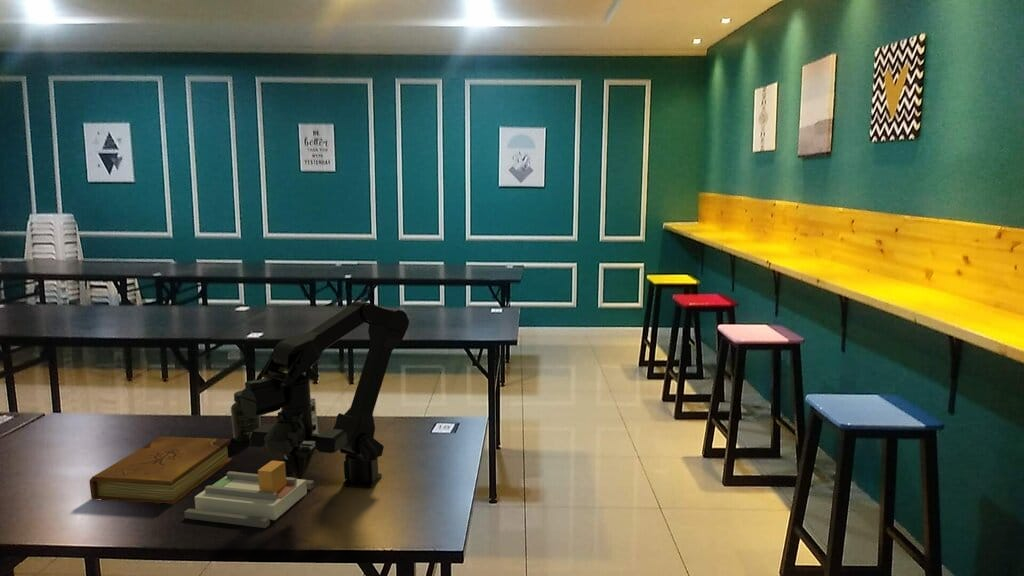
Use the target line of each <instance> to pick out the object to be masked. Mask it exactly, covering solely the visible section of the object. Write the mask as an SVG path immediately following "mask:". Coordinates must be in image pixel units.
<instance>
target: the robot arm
mask: <svg viewBox="0 0 1024 576" xmlns="http://www.w3.org/2000/svg"><path fill="white" fill-rule="evenodd" d="M363 324H367V325H368V330H367V331H368V337H369V342H370V343H369V348H368V350H367V354H366V358H365V361H364V364H363V366H362V370H361V374H360V376H359V380H358V383H357V387H356V389H355V393H354V395H353V398H352V399H353V400H352V402H351V406H350V407H349V408H348V410H347V411H346V412H344V413H341V412H340V413H338V414H337V416H336V420H335V424H334V426H333V428H327V429H326V430H324V431H323V432H322V433H319V432H318V433H313V431H314V430H316V424H312V411H314V410H315V405H311V399H312V396H311V384H310V383H311V382H310V381H311V380H316V379H318V378H319V377H320V374H319V373H317V372H315V371H314V370H313V369H312V367H314V365H315V364H316V363H317V362H318V361H319V360H320V358H321V356H322V353H323V352H324V351H325V350H326V349H328V348H329V347H330V346H332V345H333V344H335V343H336V342H338V341H339V340H341V339H342V338H344V337H345V336H346V335H349V333H351V332H352V331H354V330H356V329H357V328H358V327H360V326H361V325H363ZM409 326H410V320H409V318H408V315H407V313H406V312H405V311H403V310H401V309H397V308H390V307H383V306H377V305H374V304H372V303H371V302H367V301H361V300H355V301H352V302H350V304H348V306H347V307H345V308H343V309H342V310H341V311H339V312H337V313H336V314H334V315H332V316H331V317H329V318H328V319H326V320H325V321H323V322H322V323H320V324H319V325H317V326H316V327H314V328H313V329H311V330H309V331H307V332H305V333H302V334H297V335H293V336H290V337H288V338H286V339H283V340H281V341H279V342H278V343H276V345H275V346H274V347H273V352H272V355H271V357H270V359H269V361H268V363H267V365H266V366H265V368H264V371H263V372H262V374H261V377H263V378H260V379H257V380H249V381H245V383H244V389H242V390H243V391H242V390H241V391H242V393H241V397H240V405H241V408H242V410H243V412H244V414H245V415H246V416H247V417H248V418H255V417H258V416H260V417H261V416H263V415H268V414H271V413H274V412H277V411H279V412H277V414H276V415H277V416H276V424H274V423H273V424H272V423H264V424H261V426H260V427H259V428H257V429H256V430H254V431H252V433H251V435H250V441H249V446H251V447H259V448H263V447H264V446H266V450H267V451H268V453H269V454H274V453H277V454H282V455H283V456H284V455H286V456H287V458H288V459H287V460H288V461H289V464H290V465H291V467H292V469H293V471H294V474H295V476H296V477H297V478H296V479H303V480H304V479H305V476H306V474H307V470H308V468H309V464H310V462H311V459H312V457H313V455H314V453H315V451H316V450H317V452H319V453H324V454H325V453H326V454H333V453H336V452H338V451H339V452H340V453H341V454H345V456H344V458H345V460H344V461H343V474H344V475H343V476H344V477H343V478H344V479H345V480H344V481H343V483H342V485H343V486H345V487H356V488H365V489H370V488H371V487H372V486H374V485H375V484H376V483H377V482H378V481H379V479H381V478H382V473H379V458H380V457H382V456H383V453H384V452H383V451H384V448H385V446H384V445H383V444H382V443H380V441H378V440H376V439H375V438H374V437H375V431H376V424H375V419H374V411H375V408H376V404H377V402H378V399H379V395H380V391H381V388H382V385H383V381H384V378H385V375H386V372H387V368H388V365H389V362H390V359H391V356H392V353H393V350H394V349H395V348H396V347H397V346H398V345H400V343H402V341H403V339H404V338H405V335H406V332H407V331H408V328H409ZM280 370H284V371H287V372H284V371H280Z"/></svg>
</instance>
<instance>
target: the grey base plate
mask: <svg viewBox="0 0 1024 576" xmlns="http://www.w3.org/2000/svg"><path fill="white" fill-rule="evenodd" d="M302 480H304V478H303V479H302ZM305 480H306V487H307V490H313V489H314V488H315V480H311V479H305ZM183 512H184V519H188V520H189V519H190V520H194V521H195V520H196V521H205V522H212V523H213V522H214V523H223V524H230V525H239V526H245V527H252V528H253V527H255V528H260V529H261V528H262V529H266V528H268V527H269V526H270V525H271V521H270V519H269V518H267V517H258V516H250V515H241V514H233V513H224V512H216V511H207V510H199V509H196V508H187V509H186V510H185V511H183Z"/></svg>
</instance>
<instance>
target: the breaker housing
mask: <svg viewBox="0 0 1024 576" xmlns="http://www.w3.org/2000/svg"><path fill="white" fill-rule="evenodd" d="M306 480H307V479H303V480H302V479H298V478H296V477H291V476H290V477H288V476H286V483H287V485H285V486H284V487H283V488H282V489H280V490H279V491H278V492H276V493H275V492H266V491H259V477H258V473H251V472H249V473H248V472H240V471H239V472H238V471H230V470H229V471H227V472H226V476H223V477H222V478H221V479H219V480H218V481H216V482H215V483H214V484H211V485H206V486H205V487H204V490H203V491H201V492H200V493H198V494H197V495H195V496H194V505H195V508H194V509H199V510H207V511H216V512H224V513H233V514H241V515H250V516H258V517H267V518H269V519H270V520H271V521H276V520H278V519H279V517H280V516H283V514H284V513H285V512H287V511H288V510H289V509H290V508H291V507H293V506H294V505H295V504H296V503H297V502H298V501H300V500H301V499H302V498H303V497H304V496H306V495H307V494H308V492H307V491H308V489H307V487H306Z"/></svg>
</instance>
